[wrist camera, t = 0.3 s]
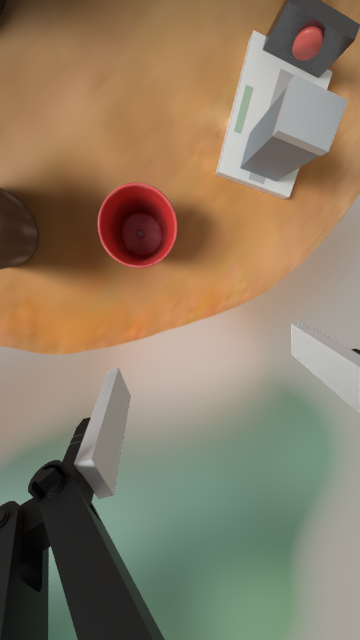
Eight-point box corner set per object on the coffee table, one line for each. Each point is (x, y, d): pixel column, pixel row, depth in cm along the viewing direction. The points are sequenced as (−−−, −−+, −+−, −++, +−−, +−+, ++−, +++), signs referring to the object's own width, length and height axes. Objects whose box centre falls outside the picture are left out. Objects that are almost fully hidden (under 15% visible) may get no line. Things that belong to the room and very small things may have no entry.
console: (284, 199, 38) (314, 186, 31) (215, 175, 35) (231, 154, 28) (325, 79, 33) (372, 32, 26) (249, 40, 30) (278, -25, 23)
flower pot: (98, 216, 35) (80, 202, 26) (157, 191, 35) (159, 168, 26) (127, 274, 38) (120, 280, 29) (180, 251, 38) (189, 249, 29)
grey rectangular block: (276, 182, 35) (328, 151, 25) (239, 168, 34) (278, 130, 24) (287, 147, 34) (347, 100, 24) (249, 131, 33) (295, 74, 22)
